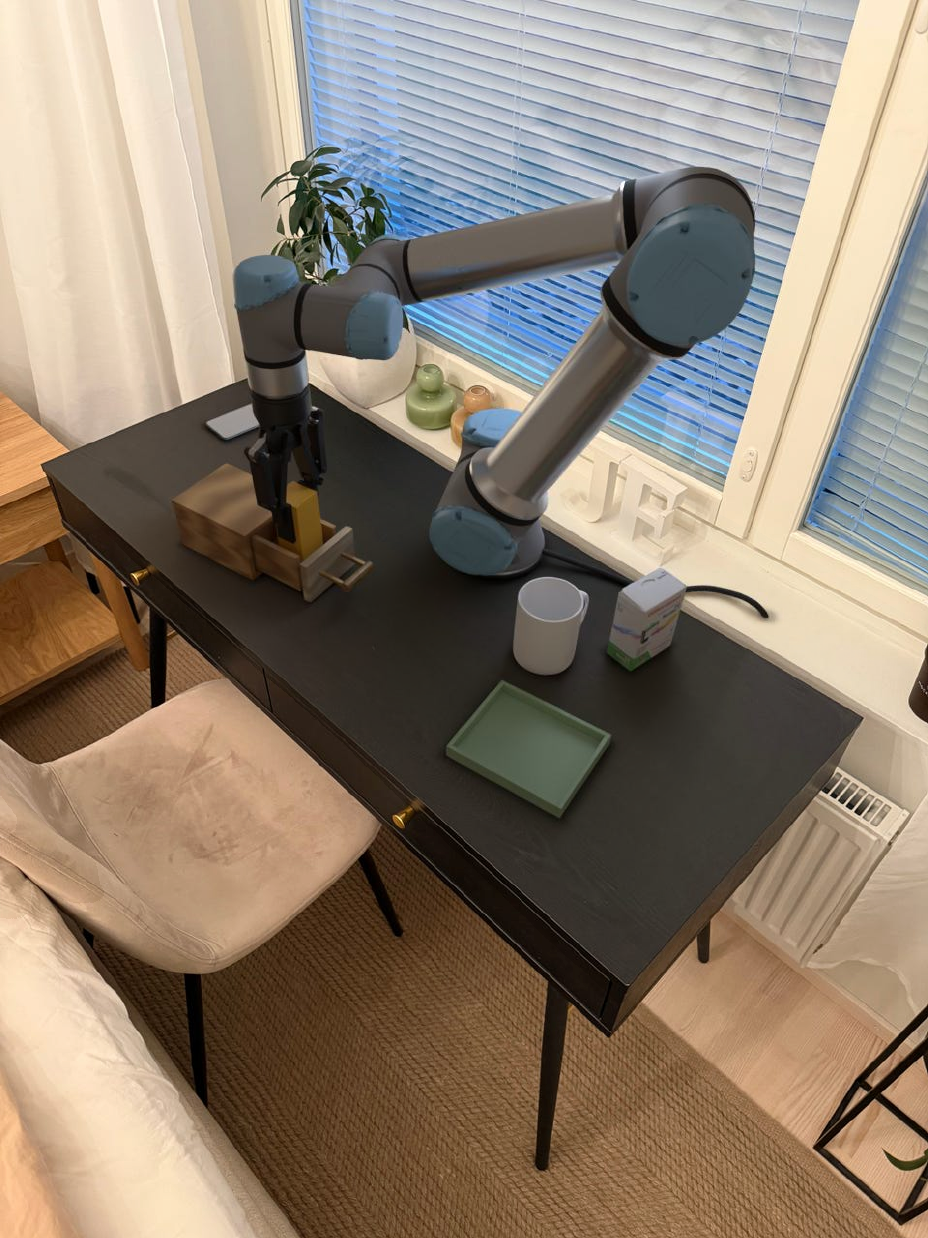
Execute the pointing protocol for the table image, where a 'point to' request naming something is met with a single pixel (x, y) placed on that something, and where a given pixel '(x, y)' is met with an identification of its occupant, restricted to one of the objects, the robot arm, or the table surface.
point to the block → (303, 521)
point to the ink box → (645, 618)
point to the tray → (529, 747)
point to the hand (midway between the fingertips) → (299, 529)
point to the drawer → (309, 560)
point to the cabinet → (222, 518)
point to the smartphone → (234, 422)
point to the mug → (548, 624)
